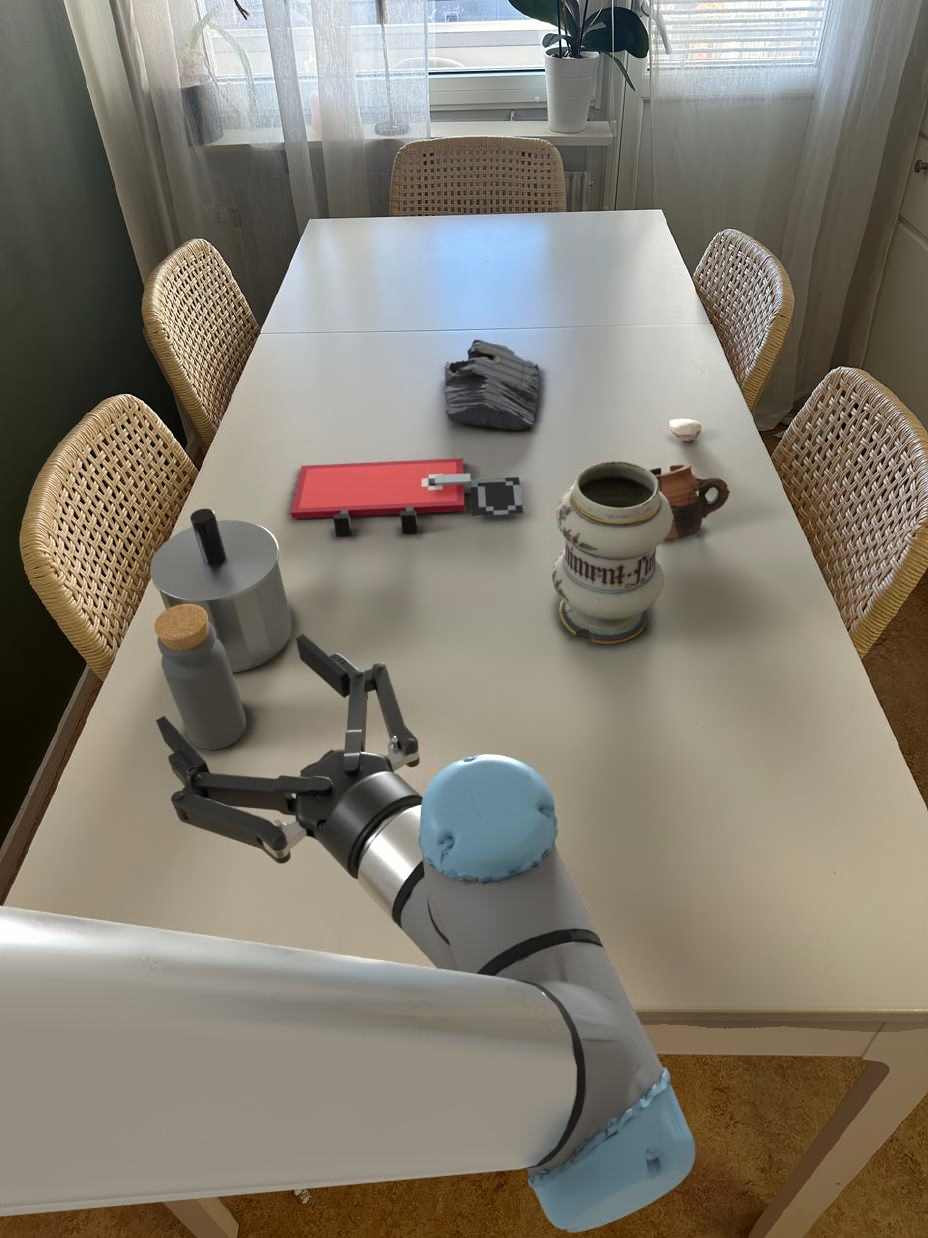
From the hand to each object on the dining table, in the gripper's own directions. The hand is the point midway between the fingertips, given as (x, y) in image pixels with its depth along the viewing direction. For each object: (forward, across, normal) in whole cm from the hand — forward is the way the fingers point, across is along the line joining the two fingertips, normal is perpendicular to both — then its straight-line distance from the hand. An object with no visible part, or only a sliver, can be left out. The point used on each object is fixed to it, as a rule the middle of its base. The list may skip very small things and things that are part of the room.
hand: (235, 685), depth 74 cm
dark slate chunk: (+37, +66, -13) cm, 77 cm away
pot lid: (+19, +9, -3) cm, 21 cm away
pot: (+19, +9, -13) cm, 25 cm away
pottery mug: (-2, +61, -13) cm, 63 cm away
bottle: (+9, 0, -14) cm, 16 cm away
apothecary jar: (-8, +41, -13) cm, 43 cm away
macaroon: (+9, +78, -13) cm, 79 cm away
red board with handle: (+25, +39, -13) cm, 49 cm away
